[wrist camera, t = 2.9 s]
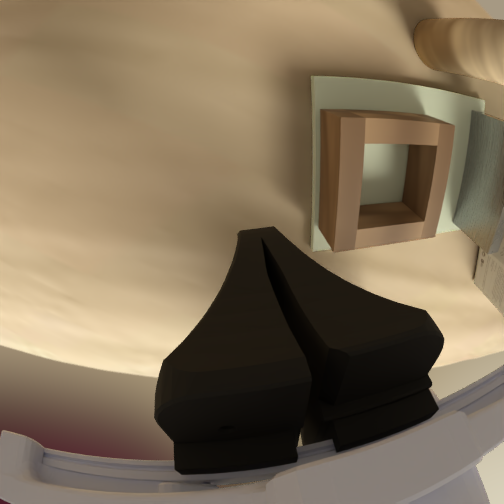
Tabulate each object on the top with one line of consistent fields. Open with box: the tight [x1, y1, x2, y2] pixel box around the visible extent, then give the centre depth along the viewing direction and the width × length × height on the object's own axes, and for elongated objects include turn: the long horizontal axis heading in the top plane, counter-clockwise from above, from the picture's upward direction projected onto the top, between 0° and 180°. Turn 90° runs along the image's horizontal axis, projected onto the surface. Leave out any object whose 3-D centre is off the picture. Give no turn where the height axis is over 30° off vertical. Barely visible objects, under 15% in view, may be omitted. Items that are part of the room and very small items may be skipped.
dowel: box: [414, 18, 504, 85], centre depth 10 cm, size 4×4×8 cm
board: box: [311, 76, 485, 252], centre depth 19 cm, size 15×12×1 cm
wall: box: [453, 110, 504, 254], centre depth 17 cm, size 2×10×5 cm, turn 4°
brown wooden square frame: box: [318, 109, 455, 252], centre depth 17 cm, size 8×8×3 cm
